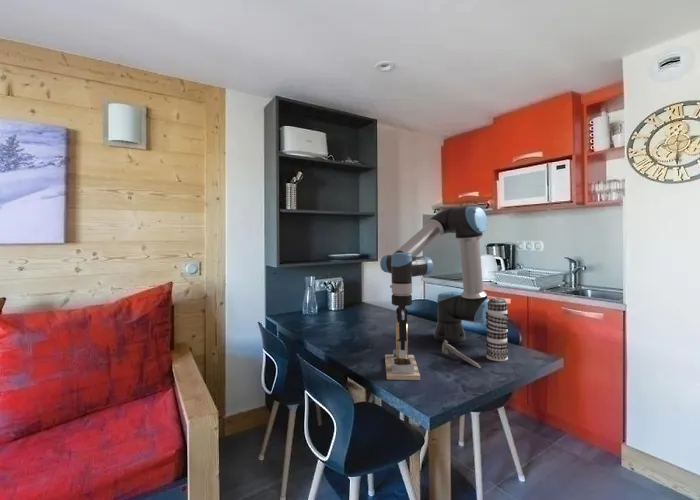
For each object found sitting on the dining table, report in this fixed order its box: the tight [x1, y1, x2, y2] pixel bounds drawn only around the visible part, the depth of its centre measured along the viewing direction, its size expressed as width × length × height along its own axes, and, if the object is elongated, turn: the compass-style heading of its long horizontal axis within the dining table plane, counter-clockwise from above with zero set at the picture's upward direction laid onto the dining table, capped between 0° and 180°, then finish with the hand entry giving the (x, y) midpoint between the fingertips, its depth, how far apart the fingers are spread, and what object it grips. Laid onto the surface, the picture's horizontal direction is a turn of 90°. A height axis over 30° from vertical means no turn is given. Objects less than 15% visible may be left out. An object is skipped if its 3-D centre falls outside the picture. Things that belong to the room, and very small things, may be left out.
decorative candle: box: [485, 297, 510, 362], centre depth 147 cm, size 9×9×25 cm
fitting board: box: [384, 349, 421, 381], centre depth 137 cm, size 22×12×4 cm, turn 176°
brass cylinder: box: [395, 321, 409, 365], centre depth 132 cm, size 4×4×16 cm
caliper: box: [441, 340, 482, 369], centre depth 145 cm, size 20×1×6 cm, turn 29°
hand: (402, 355), depth 132 cm, fingers closed on brass cylinder, 4 cm apart
